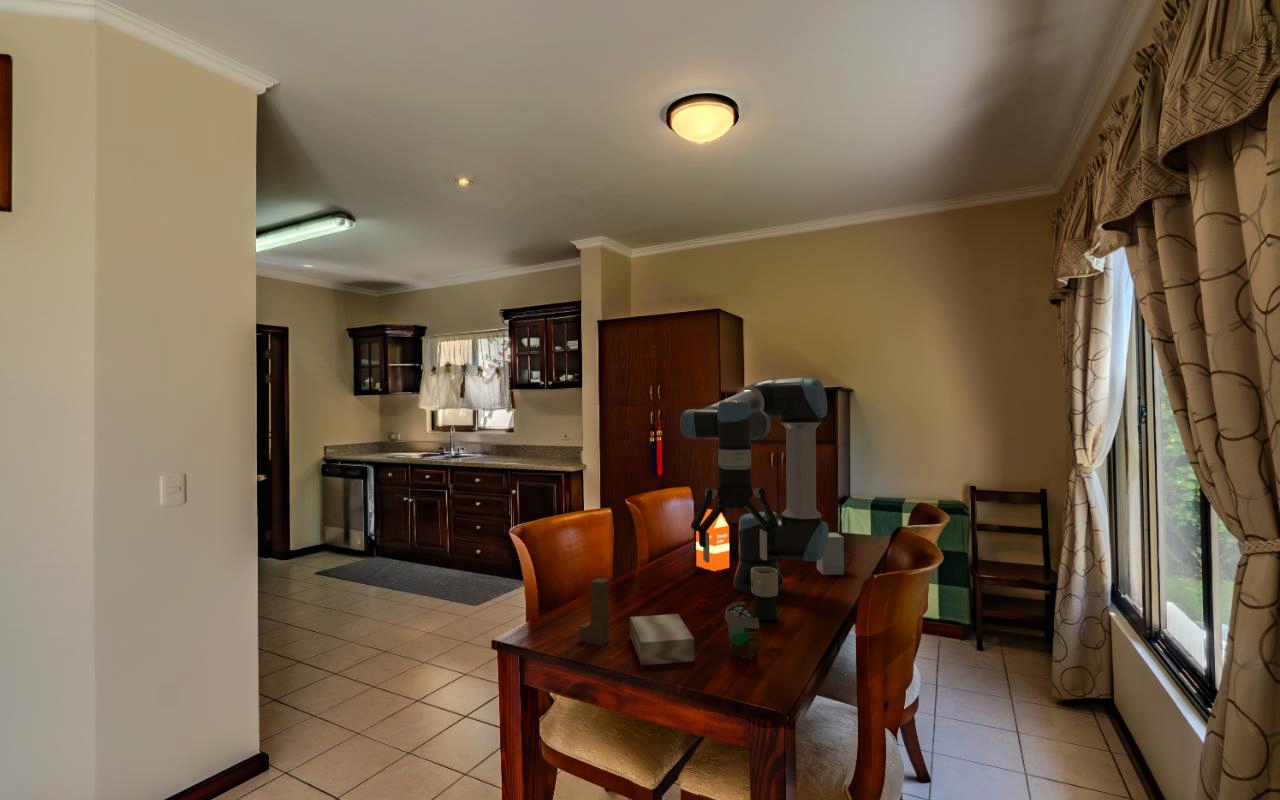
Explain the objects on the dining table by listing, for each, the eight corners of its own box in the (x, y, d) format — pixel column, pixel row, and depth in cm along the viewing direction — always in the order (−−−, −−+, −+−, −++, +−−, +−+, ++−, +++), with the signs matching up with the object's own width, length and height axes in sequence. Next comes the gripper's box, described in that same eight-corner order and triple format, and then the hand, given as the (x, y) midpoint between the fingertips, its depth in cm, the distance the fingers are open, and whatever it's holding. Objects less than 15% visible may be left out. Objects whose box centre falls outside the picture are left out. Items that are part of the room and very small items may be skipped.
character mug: (758, 610, 166) (757, 563, 166) (783, 614, 163) (783, 566, 163) (745, 623, 156) (744, 573, 157) (772, 628, 153) (771, 576, 153)
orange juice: (711, 562, 217) (710, 506, 217) (729, 567, 210) (729, 510, 210) (696, 566, 212) (695, 509, 212) (714, 571, 205) (713, 512, 205)
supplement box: (844, 575, 200) (844, 537, 200) (822, 575, 200) (821, 537, 200) (837, 569, 207) (837, 532, 207) (816, 569, 207) (815, 532, 207)
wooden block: (609, 641, 145) (608, 579, 145) (602, 646, 142) (602, 583, 142) (586, 637, 148) (585, 576, 148) (579, 641, 145) (578, 579, 145)
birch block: (678, 634, 150) (677, 613, 150) (694, 661, 134) (694, 638, 134) (630, 637, 148) (630, 617, 148) (641, 665, 132) (641, 642, 132)
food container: (719, 643, 143) (719, 601, 143) (745, 642, 144) (744, 600, 144) (731, 666, 131) (731, 620, 131) (759, 664, 132) (759, 619, 132)
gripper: (685, 470, 133) (685, 566, 133) (792, 468, 137) (793, 561, 136) (678, 466, 140) (678, 558, 140) (780, 465, 144) (780, 554, 144)
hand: (735, 560), depth 138 cm, fingers open, 13 cm apart
